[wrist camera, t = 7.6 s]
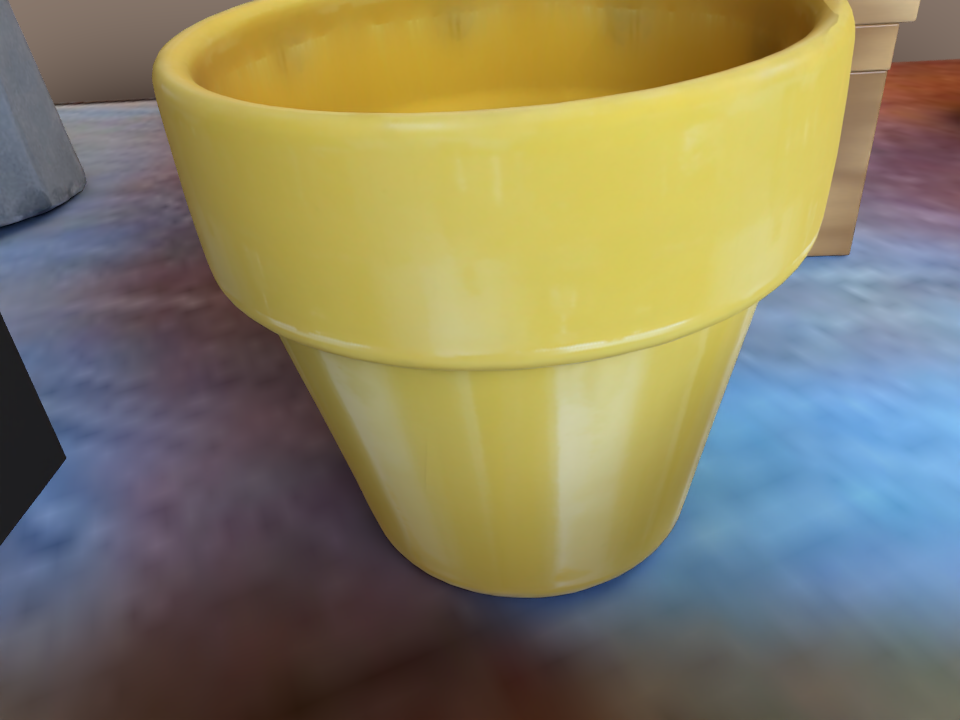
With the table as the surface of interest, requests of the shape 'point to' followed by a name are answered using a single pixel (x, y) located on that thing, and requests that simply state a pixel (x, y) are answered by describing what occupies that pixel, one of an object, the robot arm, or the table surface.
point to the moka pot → (30, 134)
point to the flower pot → (511, 244)
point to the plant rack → (860, 117)
